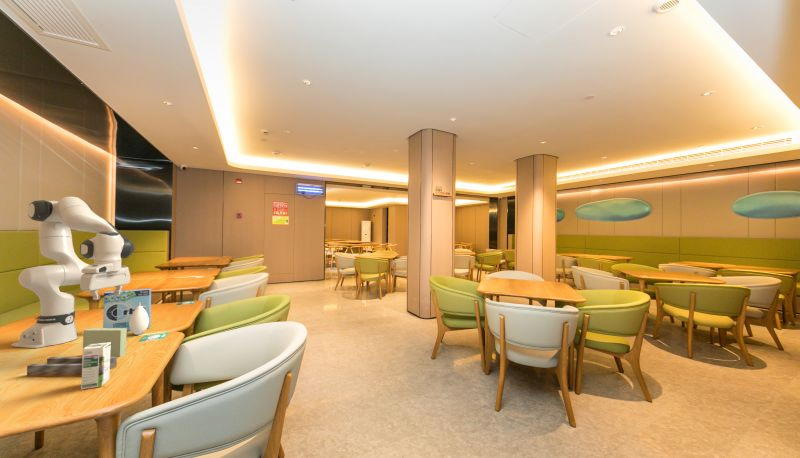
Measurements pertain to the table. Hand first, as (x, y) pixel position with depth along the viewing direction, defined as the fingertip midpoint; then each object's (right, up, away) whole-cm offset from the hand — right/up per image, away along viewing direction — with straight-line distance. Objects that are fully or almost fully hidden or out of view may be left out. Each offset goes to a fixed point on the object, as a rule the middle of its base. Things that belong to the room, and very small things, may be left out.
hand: (106, 297), depth 132 cm
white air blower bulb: (-10, -27, +27) cm, 39 cm away
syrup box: (+22, -26, -25) cm, 43 cm away
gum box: (-22, -27, +33) cm, 48 cm away
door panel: (0, -26, -1) cm, 26 cm away
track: (+2, -26, -15) cm, 30 cm away
